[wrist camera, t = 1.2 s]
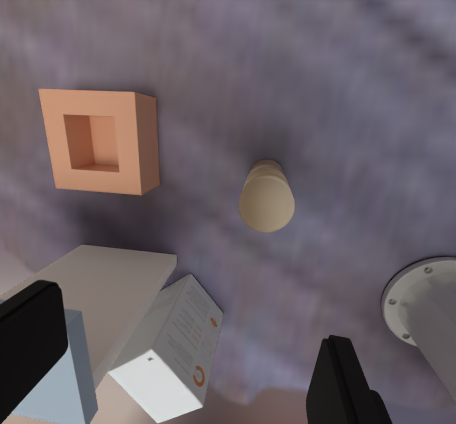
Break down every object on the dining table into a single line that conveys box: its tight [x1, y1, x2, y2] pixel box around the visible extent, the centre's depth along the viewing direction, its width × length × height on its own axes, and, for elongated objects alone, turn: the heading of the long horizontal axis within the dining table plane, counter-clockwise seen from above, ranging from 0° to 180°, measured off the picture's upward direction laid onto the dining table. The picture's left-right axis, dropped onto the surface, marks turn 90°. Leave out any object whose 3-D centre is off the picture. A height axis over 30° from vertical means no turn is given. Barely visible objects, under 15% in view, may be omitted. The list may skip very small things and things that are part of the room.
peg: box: [239, 159, 295, 232], centre depth 24 cm, size 4×4×12 cm
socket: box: [39, 89, 160, 195], centre depth 28 cm, size 10×10×5 cm
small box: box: [108, 273, 224, 423], centre depth 31 cm, size 8×6×13 cm
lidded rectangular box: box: [0, 245, 177, 424], centre depth 25 cm, size 16×8×20 cm, turn 88°
